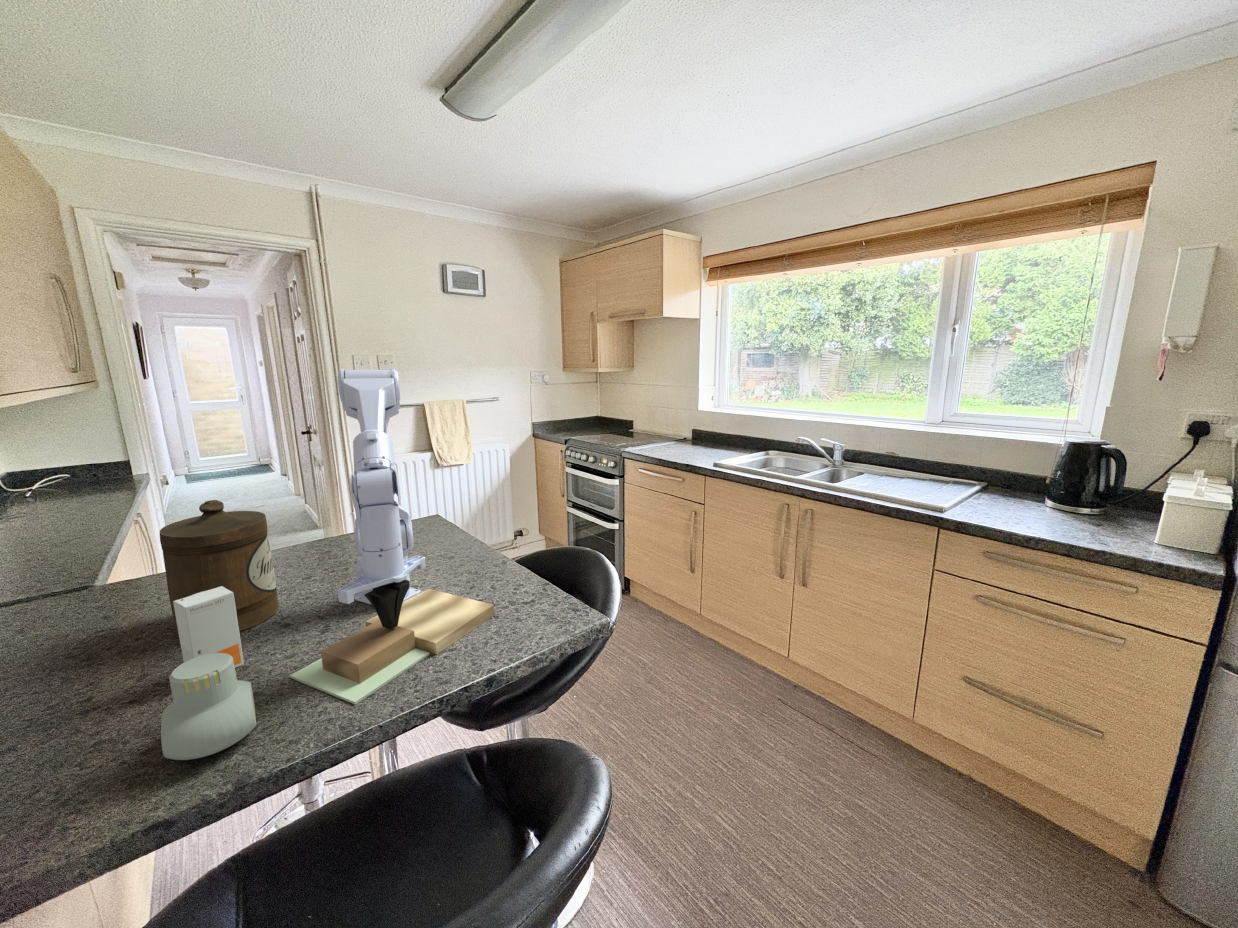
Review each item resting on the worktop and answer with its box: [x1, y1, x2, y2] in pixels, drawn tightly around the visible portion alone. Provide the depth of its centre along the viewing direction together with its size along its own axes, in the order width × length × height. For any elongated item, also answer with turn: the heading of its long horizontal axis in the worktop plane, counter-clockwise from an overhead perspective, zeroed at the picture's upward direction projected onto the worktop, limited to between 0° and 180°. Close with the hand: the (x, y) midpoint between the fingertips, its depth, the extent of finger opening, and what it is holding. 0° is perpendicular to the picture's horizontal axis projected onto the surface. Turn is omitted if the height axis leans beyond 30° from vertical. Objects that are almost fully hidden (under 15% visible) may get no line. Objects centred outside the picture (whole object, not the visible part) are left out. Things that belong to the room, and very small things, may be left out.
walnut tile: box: [320, 620, 416, 683], centre depth 76 cm, size 8×10×3 cm
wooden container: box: [159, 499, 279, 636], centre depth 88 cm, size 15×15×22 cm
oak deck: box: [365, 588, 496, 656], centre depth 88 cm, size 16×14×2 cm
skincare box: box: [173, 586, 245, 669], centre depth 74 cm, size 6×4×12 cm
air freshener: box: [160, 653, 257, 761], centre depth 60 cm, size 11×8×10 cm
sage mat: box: [289, 648, 431, 706], centre depth 75 cm, size 14×13×1 cm
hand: (390, 626), depth 80 cm, fingers closed
